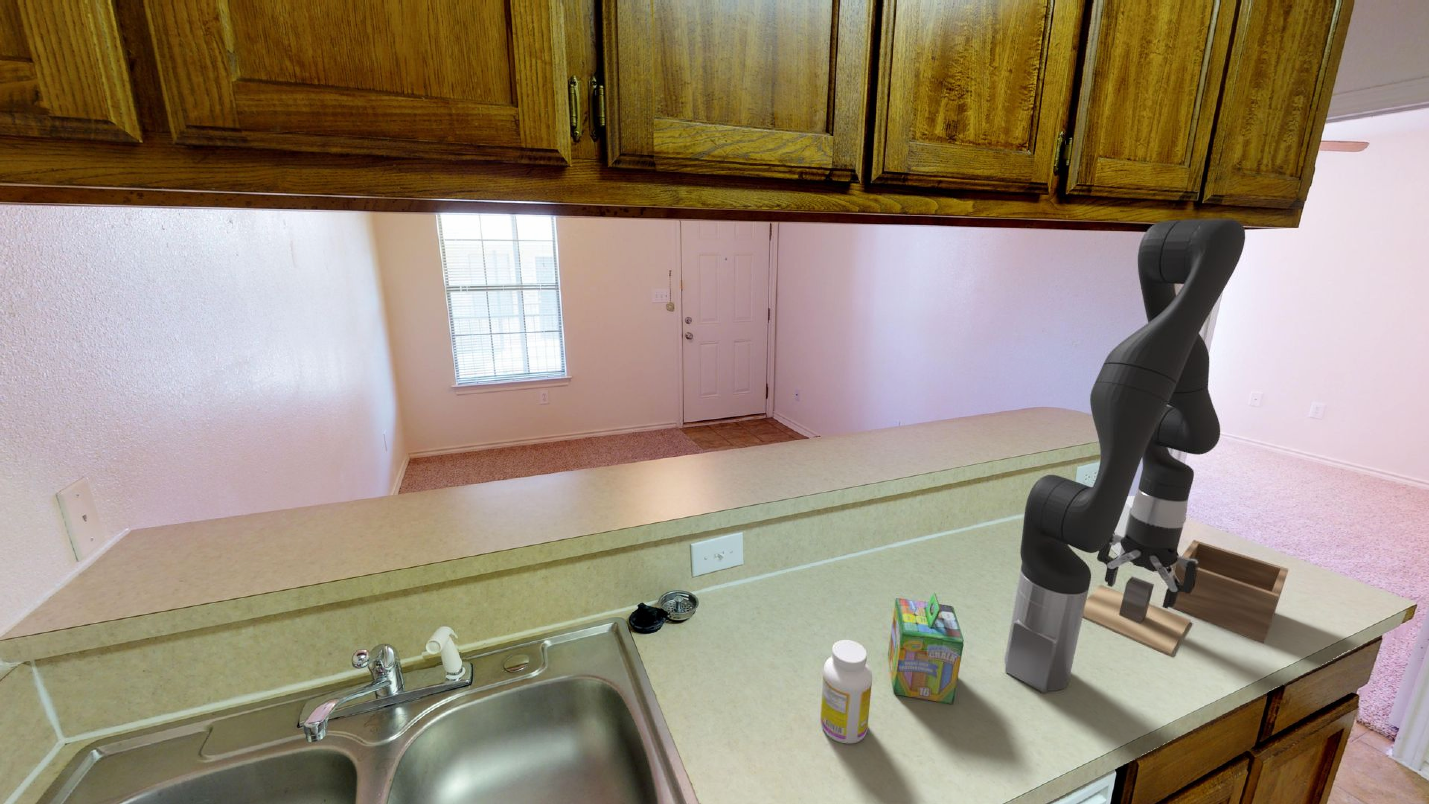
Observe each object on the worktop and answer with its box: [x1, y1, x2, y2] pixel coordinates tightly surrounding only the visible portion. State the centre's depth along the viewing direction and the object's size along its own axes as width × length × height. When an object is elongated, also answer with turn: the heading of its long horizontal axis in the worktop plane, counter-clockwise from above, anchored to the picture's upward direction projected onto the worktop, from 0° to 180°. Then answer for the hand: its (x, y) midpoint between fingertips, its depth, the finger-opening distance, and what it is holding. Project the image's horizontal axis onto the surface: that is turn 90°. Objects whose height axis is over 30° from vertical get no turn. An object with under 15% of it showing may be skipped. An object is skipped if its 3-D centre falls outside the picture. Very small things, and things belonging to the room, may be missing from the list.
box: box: [1170, 539, 1289, 644], centre depth 106 cm, size 14×14×10 cm
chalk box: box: [887, 592, 965, 705], centre depth 87 cm, size 9×9×15 cm
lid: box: [1082, 575, 1191, 657], centre depth 104 cm, size 15×15×8 cm
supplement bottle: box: [820, 639, 873, 744], centre depth 78 cm, size 7×7×13 cm
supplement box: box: [1110, 495, 1135, 556], centre depth 127 cm, size 7×7×13 cm
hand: (1137, 595), depth 103 cm, fingers open, 8 cm apart
